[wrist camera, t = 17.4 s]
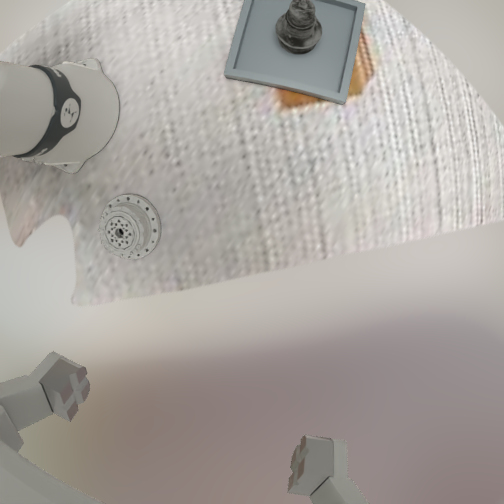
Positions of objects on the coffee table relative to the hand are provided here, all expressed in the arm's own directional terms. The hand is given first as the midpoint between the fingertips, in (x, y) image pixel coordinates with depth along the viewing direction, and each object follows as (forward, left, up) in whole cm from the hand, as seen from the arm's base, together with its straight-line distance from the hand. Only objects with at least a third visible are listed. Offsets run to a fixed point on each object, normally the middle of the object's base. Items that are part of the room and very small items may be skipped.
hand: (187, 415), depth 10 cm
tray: (0, +25, -37) cm, 45 cm away
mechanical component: (-18, -6, -37) cm, 42 cm away
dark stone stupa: (0, +25, -36) cm, 44 cm away
